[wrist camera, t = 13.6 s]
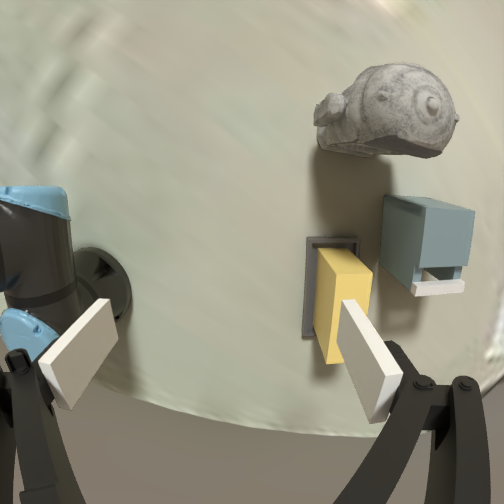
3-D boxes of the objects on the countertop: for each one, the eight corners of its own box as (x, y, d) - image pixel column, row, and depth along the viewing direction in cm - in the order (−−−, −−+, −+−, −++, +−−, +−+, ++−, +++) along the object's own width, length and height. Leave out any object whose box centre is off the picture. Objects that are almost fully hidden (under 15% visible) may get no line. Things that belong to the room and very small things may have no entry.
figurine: (385, 162, 44) (487, 170, 20) (303, 148, 44) (355, 132, 20) (390, 107, 42) (488, 77, 18) (308, 89, 41) (360, 24, 17)
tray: (301, 331, 53) (303, 336, 51) (306, 236, 48) (308, 239, 46) (346, 328, 53) (349, 333, 51) (356, 236, 48) (360, 239, 46)
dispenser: (378, 263, 49) (415, 296, 36) (384, 194, 46) (427, 207, 33) (421, 262, 49) (463, 292, 36) (428, 197, 46) (476, 211, 32)
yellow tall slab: (312, 323, 52) (326, 364, 41) (317, 248, 48) (336, 274, 37) (339, 322, 52) (358, 361, 40) (346, 247, 48) (372, 273, 36)
